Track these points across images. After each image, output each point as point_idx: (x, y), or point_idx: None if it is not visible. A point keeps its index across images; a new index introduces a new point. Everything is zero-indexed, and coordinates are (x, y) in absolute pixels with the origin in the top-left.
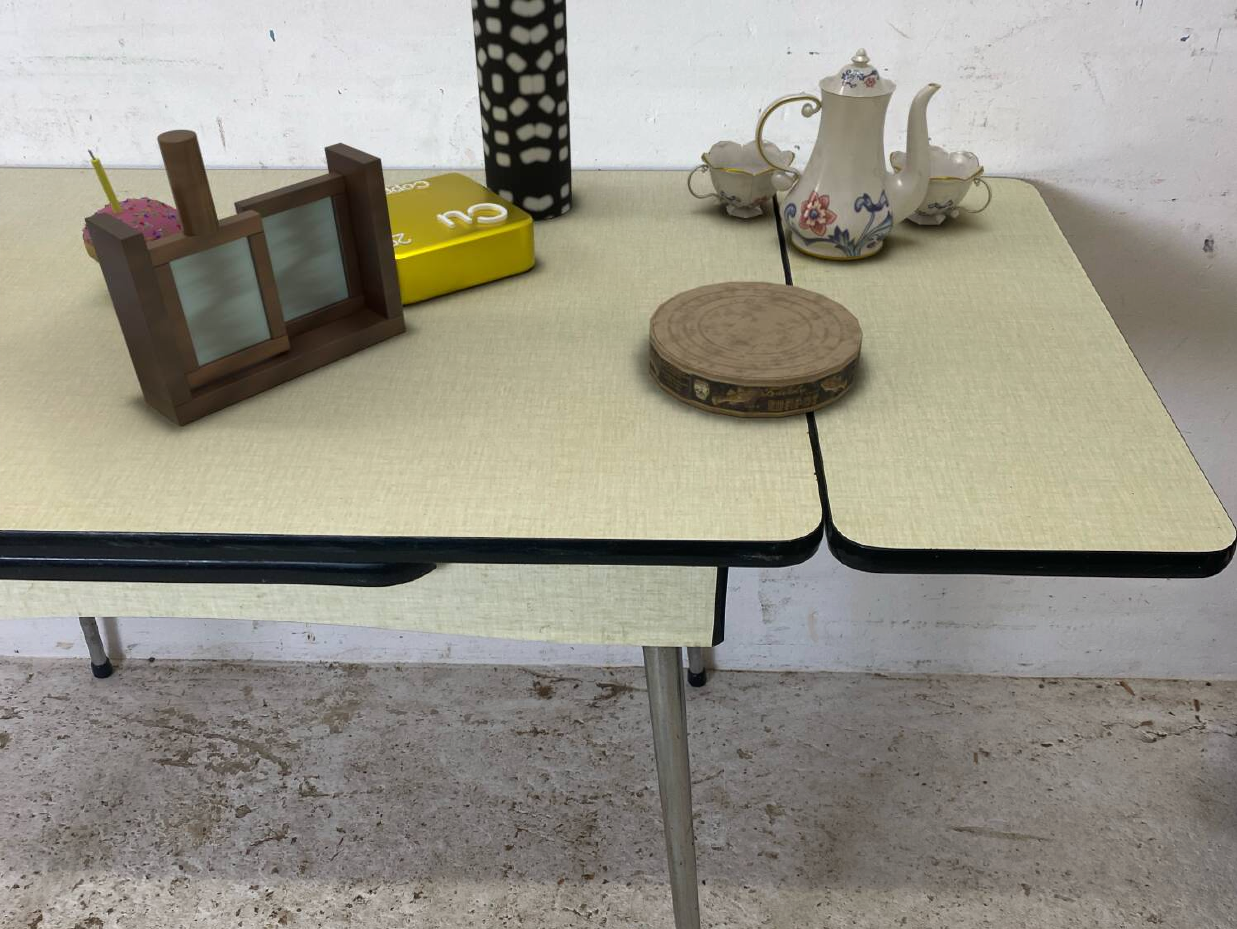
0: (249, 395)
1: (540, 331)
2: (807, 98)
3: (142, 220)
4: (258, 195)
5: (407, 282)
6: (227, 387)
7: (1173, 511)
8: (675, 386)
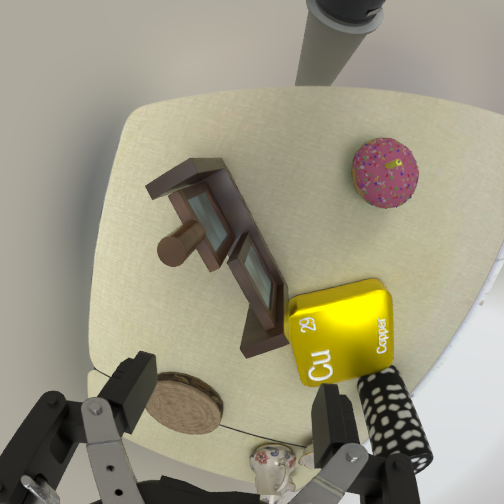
0: None
1: (234, 353)
2: (276, 490)
3: (371, 180)
4: (245, 275)
5: None
6: None
7: None
8: (163, 375)
